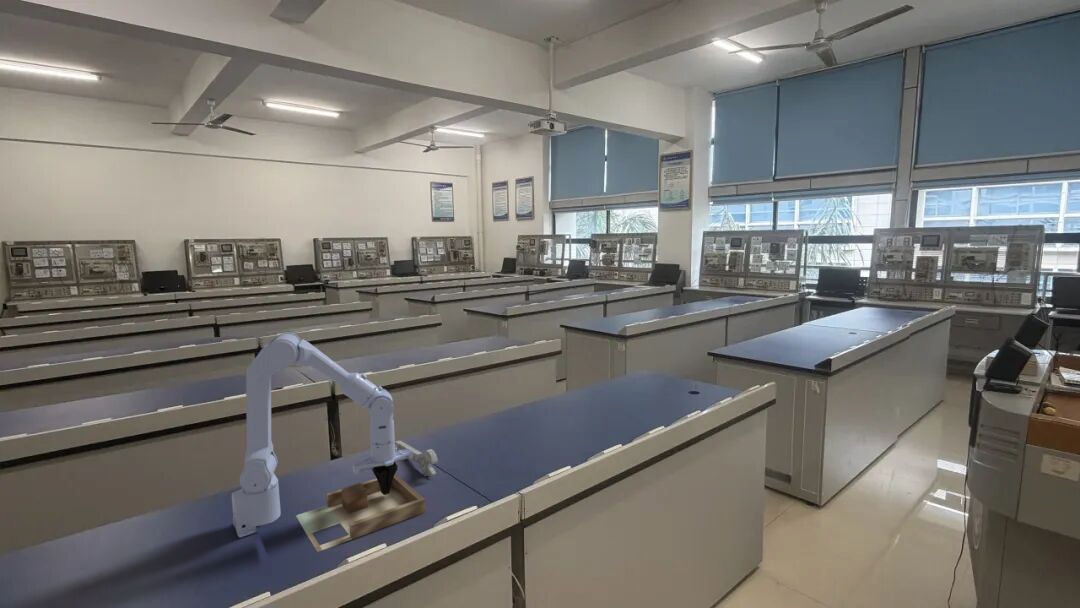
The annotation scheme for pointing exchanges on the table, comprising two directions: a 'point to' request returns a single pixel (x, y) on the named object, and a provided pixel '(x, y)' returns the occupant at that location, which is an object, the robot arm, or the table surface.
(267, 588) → the table surface
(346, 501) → the walnut block
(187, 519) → the table surface
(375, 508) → the cubby base
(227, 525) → the table surface
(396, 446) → the wrench
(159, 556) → the table surface
